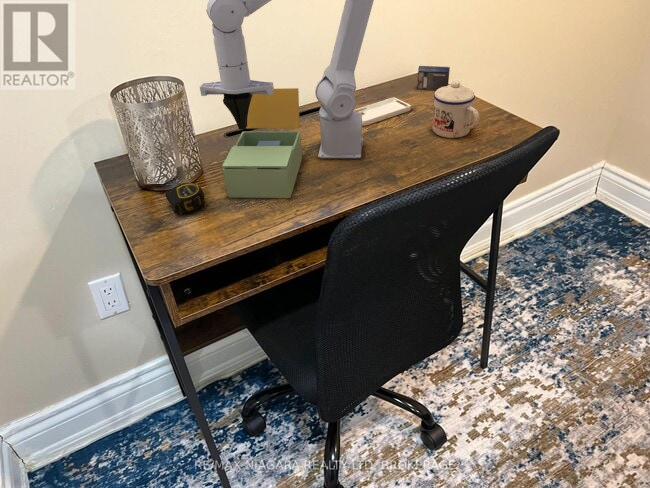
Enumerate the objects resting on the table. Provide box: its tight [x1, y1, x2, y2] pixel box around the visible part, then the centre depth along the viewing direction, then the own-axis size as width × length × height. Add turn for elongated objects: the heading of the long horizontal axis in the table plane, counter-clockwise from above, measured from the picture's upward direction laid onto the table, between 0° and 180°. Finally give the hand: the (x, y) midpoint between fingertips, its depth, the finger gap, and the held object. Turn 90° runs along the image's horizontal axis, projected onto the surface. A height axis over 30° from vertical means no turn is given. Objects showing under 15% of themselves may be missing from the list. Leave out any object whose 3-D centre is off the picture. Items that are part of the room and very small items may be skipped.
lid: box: [245, 87, 301, 130], centre depth 111 cm, size 8×13×1 cm
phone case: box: [353, 97, 412, 127], centre depth 131 cm, size 7×1×15 cm
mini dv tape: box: [416, 65, 451, 91], centre depth 141 cm, size 8×2×6 cm, turn 75°
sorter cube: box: [257, 141, 281, 169], centre depth 111 cm, size 5×5×5 cm
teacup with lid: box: [432, 80, 480, 139], centre depth 118 cm, size 12×9×12 cm
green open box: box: [221, 130, 303, 199], centre depth 108 cm, size 17×13×7 cm
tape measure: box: [165, 182, 205, 216], centre depth 101 cm, size 7×7×4 cm
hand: (243, 127), depth 108 cm, fingers closed
